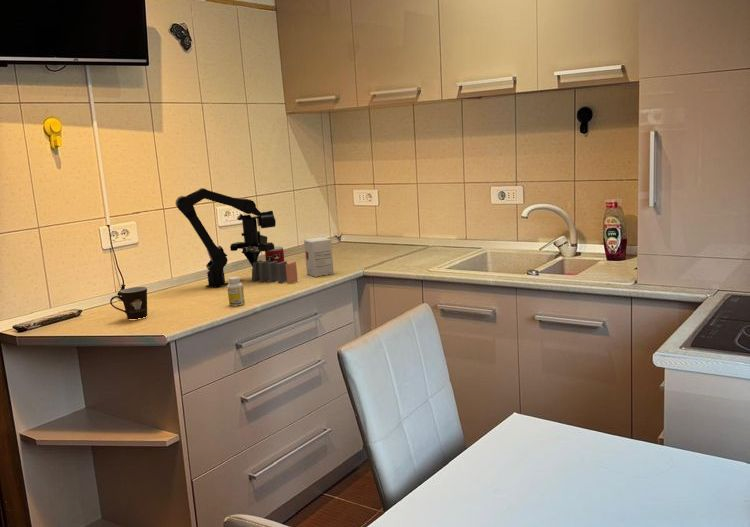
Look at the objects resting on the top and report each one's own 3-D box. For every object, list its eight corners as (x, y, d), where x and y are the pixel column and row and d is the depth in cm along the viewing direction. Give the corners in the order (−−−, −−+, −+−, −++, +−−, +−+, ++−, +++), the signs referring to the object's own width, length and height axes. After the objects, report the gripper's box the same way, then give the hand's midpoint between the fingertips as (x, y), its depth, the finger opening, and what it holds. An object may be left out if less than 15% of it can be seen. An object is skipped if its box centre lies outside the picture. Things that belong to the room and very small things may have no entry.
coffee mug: (153, 313, 244) (149, 286, 242) (146, 320, 236) (142, 291, 234) (120, 316, 244) (116, 288, 242) (111, 323, 236) (107, 294, 234)
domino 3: (272, 282, 283) (270, 263, 281) (269, 282, 283) (267, 263, 282) (279, 280, 287) (277, 261, 285) (276, 280, 288) (274, 260, 286)
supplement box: (306, 274, 295) (303, 239, 292) (325, 271, 299) (322, 236, 296) (314, 277, 287) (311, 241, 284) (334, 274, 291) (331, 238, 288)
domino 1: (254, 281, 287) (256, 263, 285) (251, 280, 288) (252, 262, 285) (262, 279, 291) (263, 261, 289) (258, 278, 292) (260, 260, 290)
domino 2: (263, 282, 285) (261, 263, 283) (260, 282, 286) (258, 263, 284) (270, 279, 289) (268, 260, 288) (267, 279, 290) (265, 260, 288)
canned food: (263, 274, 301) (261, 249, 299) (274, 270, 308) (272, 246, 306) (278, 275, 298) (275, 249, 296) (288, 271, 304) (286, 246, 302)
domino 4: (281, 283, 281) (279, 263, 279) (278, 283, 281) (276, 263, 280) (288, 280, 285) (286, 261, 283) (285, 280, 286) (283, 261, 284)
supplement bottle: (238, 302, 253) (235, 275, 251) (247, 303, 250) (245, 276, 248) (226, 305, 249) (223, 278, 247) (236, 307, 246) (233, 279, 244)
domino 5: (290, 283, 278) (288, 264, 277) (287, 283, 279) (285, 264, 278) (297, 281, 283) (295, 261, 281) (294, 280, 283) (292, 261, 282)
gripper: (280, 226, 288) (284, 263, 291) (244, 226, 297) (248, 262, 300) (264, 231, 279) (268, 269, 282) (227, 231, 288) (231, 268, 291)
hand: (254, 267), depth 289 cm, fingers closed
